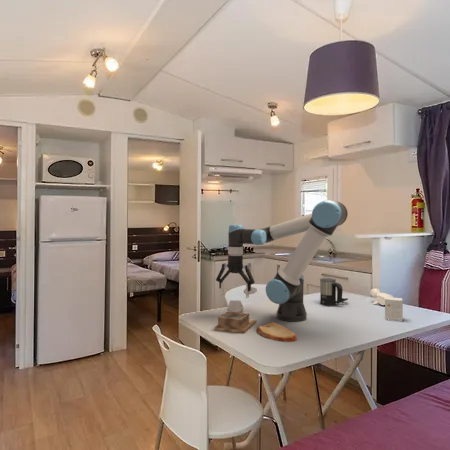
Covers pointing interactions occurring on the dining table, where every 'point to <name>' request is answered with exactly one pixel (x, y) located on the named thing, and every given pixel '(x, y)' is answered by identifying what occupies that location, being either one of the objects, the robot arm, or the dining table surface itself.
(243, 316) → the wooden box on base
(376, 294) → the cream doll figurine
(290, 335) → the slice of bread
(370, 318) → the dining table surface
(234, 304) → the die
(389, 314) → the small box
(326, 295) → the milk frother
